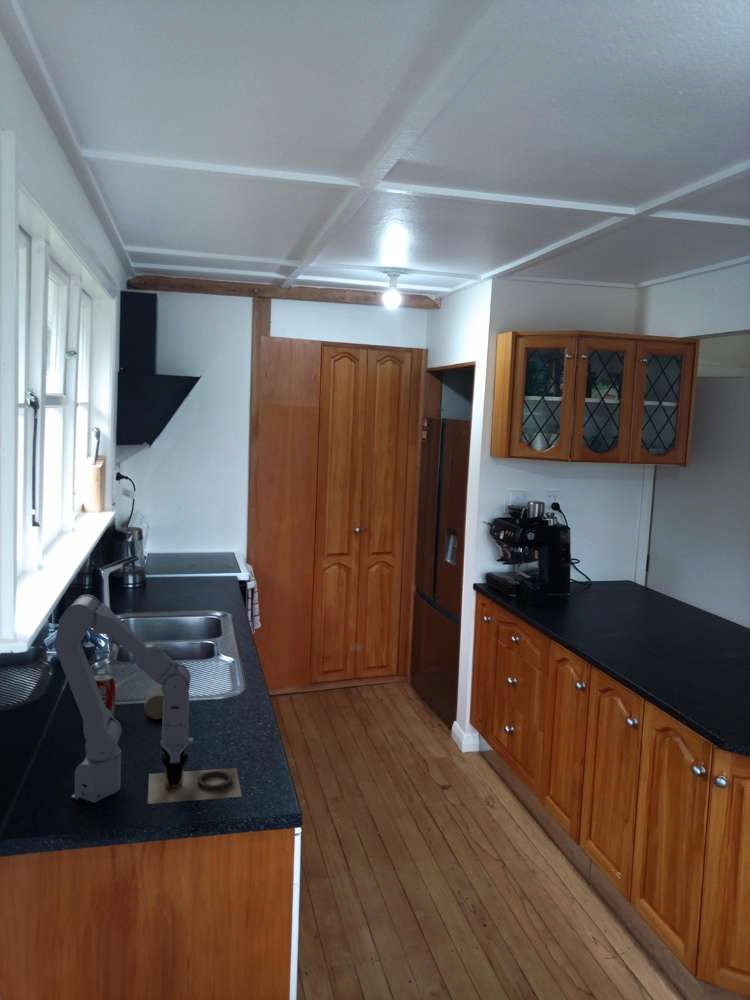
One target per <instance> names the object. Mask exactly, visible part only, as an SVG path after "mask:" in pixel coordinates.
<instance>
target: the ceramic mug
mask: <svg viewBox="0 0 750 1000" xmlns="http://www.w3.org/2000/svg"><path fill="white" fill-rule="evenodd" d="M161 686H162V685H160V684H158V683H157V684H154V685H152V686H150V687H149V688H148V689H147V690H146V692H145V695H144V705H143V706H144V711H145V714H146V715H147V716H148V717H149V718H150V719H152V720H162V714H163V701H164V694H163V692H162V689H161Z"/></svg>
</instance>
